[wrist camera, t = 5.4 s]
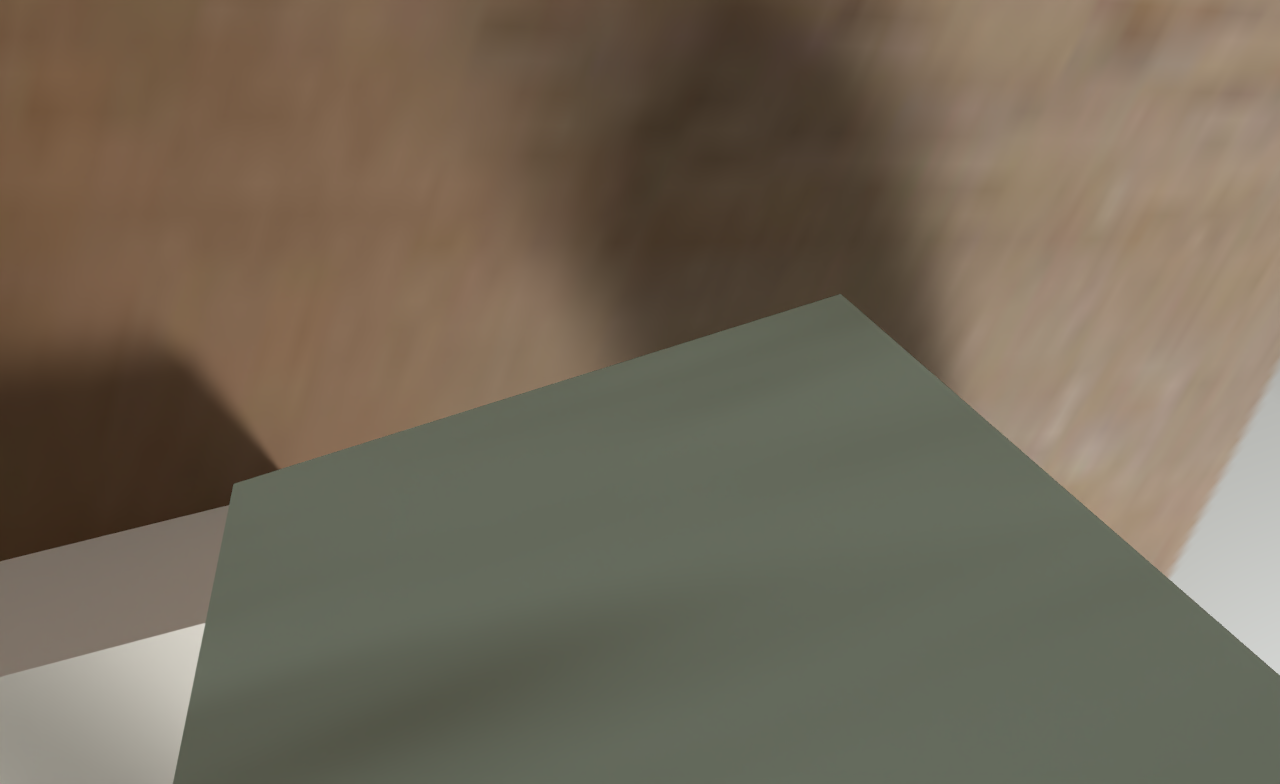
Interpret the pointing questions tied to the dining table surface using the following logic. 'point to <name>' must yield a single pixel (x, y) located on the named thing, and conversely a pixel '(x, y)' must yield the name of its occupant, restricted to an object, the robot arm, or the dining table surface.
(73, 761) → the cream block
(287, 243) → the dining table surface
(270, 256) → the dining table surface
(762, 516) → the green cube
